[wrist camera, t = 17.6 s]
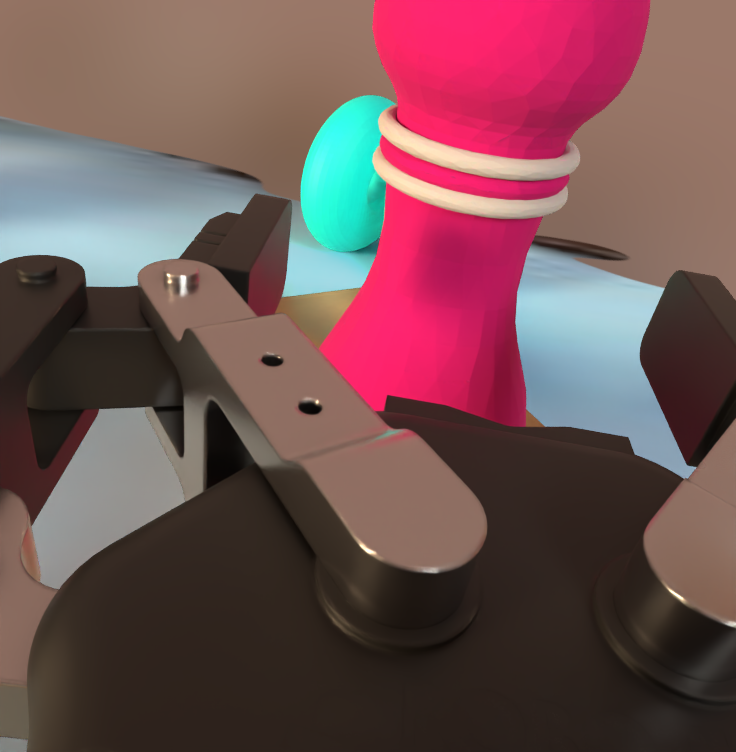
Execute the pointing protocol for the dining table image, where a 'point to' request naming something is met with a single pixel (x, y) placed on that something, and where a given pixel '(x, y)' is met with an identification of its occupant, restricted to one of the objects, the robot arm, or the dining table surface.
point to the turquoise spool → (345, 177)
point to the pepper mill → (473, 186)
